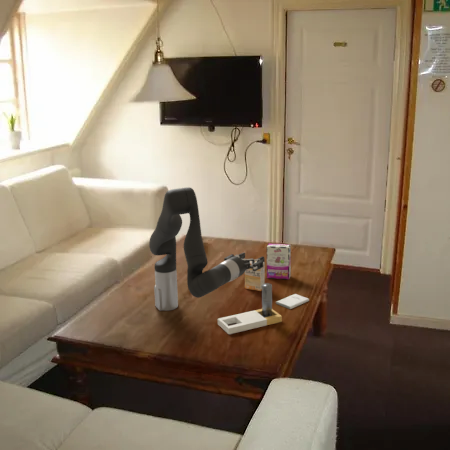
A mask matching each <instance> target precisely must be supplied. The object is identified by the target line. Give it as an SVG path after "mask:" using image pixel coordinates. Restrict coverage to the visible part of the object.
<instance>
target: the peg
mask: <svg viewBox="0 0 450 450" xmlns="http://www.w3.org/2000/svg"><path fill="white" fill-rule="evenodd" d="M261 309H262V316H263V317H264V318H265V317H269V316H272V309H273V285H272V283H270V282H264V284H262V290H261Z"/></svg>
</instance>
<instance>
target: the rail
mask: <svg viewBox="0 0 450 450" xmlns="http://www.w3.org/2000/svg"><path fill="white" fill-rule="evenodd" d="M282 322H283V315H281V314H280V313H279V312H277V311H276V310H274V309H273V308H272V316H269V317H265V318H264V317H263V316H262V308H259V309H256V310H255V309H254V310H250V311H245V312H241V313H238V314H233V315H232V314H231V315H228V316H223V317H219V318H217V325H218V326H219V327H221V329H222V330H223V331H224V332H225V333H226V334H228V335H233V334H236V333H240V332H245V331H248V330H252V329H257V328H260V327H266V326H268V325H273V324H279V323H282Z"/></svg>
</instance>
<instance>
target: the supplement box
mask: <svg viewBox="0 0 450 450" xmlns="http://www.w3.org/2000/svg"><path fill="white" fill-rule="evenodd" d="M256 262H257V261H256ZM256 262H254V263H256ZM250 265H252V262H251V261H250ZM265 270H266V269H265V262H263V268H261V269H259V270H257V271H253V269H251V268H250V269H247V270H245V272H244V289H245V290H246V289H247V290H252V291H258V292H262V284H264V283H265V279H266V278H265V277H266V276H265V273H266V271H265Z"/></svg>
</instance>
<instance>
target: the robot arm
mask: <svg viewBox="0 0 450 450" xmlns="http://www.w3.org/2000/svg"><path fill="white" fill-rule="evenodd" d="M163 196H164V197H163V203H162V207H161V212H160V214H159V217H158V220H157V221H156V222H157V223H156V226H155V229H154V231H153V232H152V234H151V235H150V238H149V243H148V244H149V245H148V246H149V251H150V253H151V254H153V255H154V256H164V257H162V258H161V259H159V260H158V261H155V263H154V280H155V285H154V286H153V290H154V291H153V293H154V305H155V307H156V309H158V310H159V312H161V311H167V312H168V311H173V310H176V309H177V308H178V306H179V297H178V295H179V294H178V293H179V292H178V275H177V273H178V272H177V239H176V237H177V236H178V234H179V232H180V231H181V229H182V226H183V218H182V216H181V215H186V214H189V226H188V229H187V231H186V235H185V236H184V237H185V238H184V239H183V240H184V241H183V253H184V257H185V261H186V264H187V269H186V270H187V273H186V275H187V276H186V280H187V281H186V284H187V288H188V291H189V293H190V294H191V295H192V296H193V297H194V298H196V299H197V298H198V299H199V298H202V297H204V296H207V295H208V294H211V293H212V292H214V291H216V290H217V289H219V288H221V286H224V285H226V284H227V283H230V282H233V281H234V280H236V279H238V278H239V277H241V276H243V275H245V270H247V269H250V268H251V269H253V271H257V270H259V269H261V268H263V262H265V261H266V260H265V256H260V257H258V258H256V259H254V258H246V253H245V252H242V253H239V254H235V255H234V254H232V253H231V254H230V255H228V256H226V257H224V258H223V259H224V261H221V262H220V263H219V264H217V265H216V266H214V267H211V268H210V269H207V270H205V271H204V269H205V268H206V266H207V265H208V258H207V257H208V256H207V252H206V249H205V245H204V242H203V236H202V228H201V227H202V226H201V219H200V212H199V205H198V199H197V195H196V191H195V190H194V189H193V188H192V187H189V186H188V187H182V188H181V187H178V188H172V189H169V190H168V191H166V192H165V194H164V195H163ZM250 261H251V262H252V265H250ZM256 261H257V262H256ZM254 262H256V263H254Z"/></svg>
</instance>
